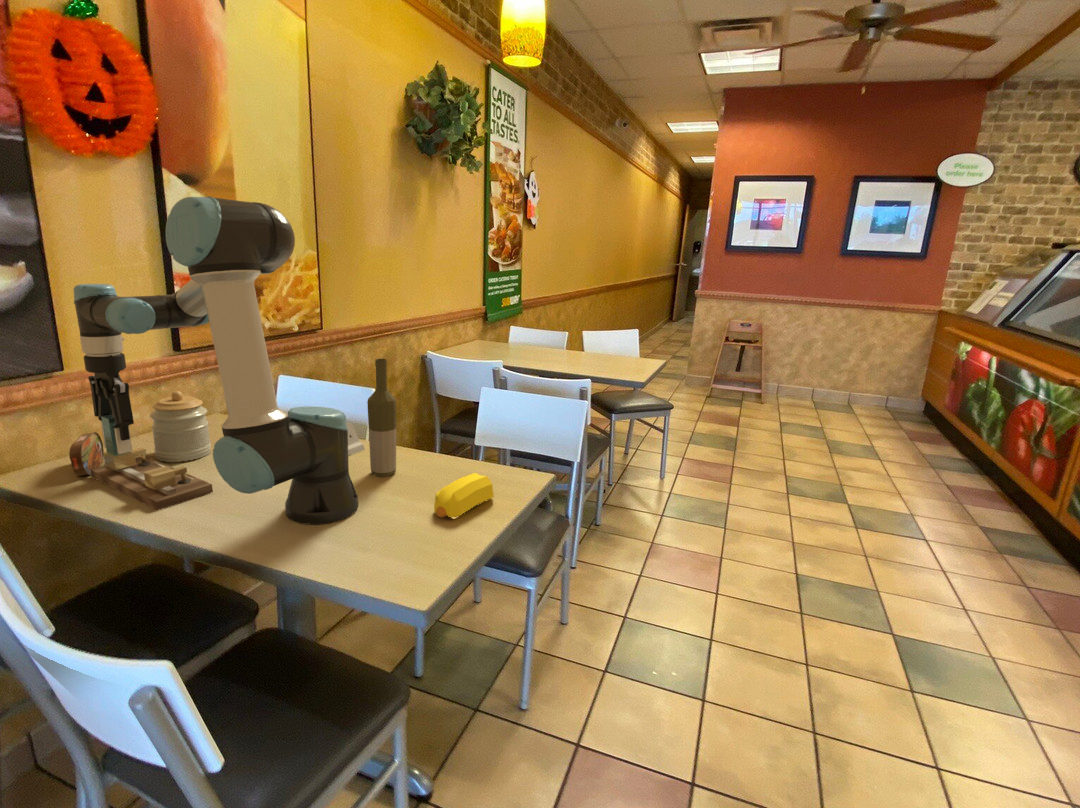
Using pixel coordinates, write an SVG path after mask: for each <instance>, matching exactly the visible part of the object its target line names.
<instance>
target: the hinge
mask: <svg viewBox="0 0 1080 808" xmlns="http://www.w3.org/2000/svg"><path fill="white" fill-rule="evenodd" d="M346 423H347V428H348V457H350V456H349V455H351V456H353V455H356V454H358V453H357V452H359V453H360V451H361V452H363V451H362V450H364V451H365V450H366V449H365V445H364V443H362V442H361V441H360V439H359V436H358V434H357V431H356V430H355V426H354V425H353V424H352V423H350V422H346ZM355 453H356V454H355ZM352 454H353V455H352Z"/></svg>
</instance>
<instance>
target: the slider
mask: <svg viewBox="0 0 1080 808" xmlns="http://www.w3.org/2000/svg"><path fill="white" fill-rule="evenodd" d="M101 418H102V424H103V431H104V437H105V443H106V448H105V449H106V451H104V452H103V454H104V458H103V462H104V466H108V467H110V468H112V469H114V470H118V469H121V468H125V467H129V466H133V465H136V459H135V458H137V457H141V460H142V463H145V462H146V457H145V456H146V454H147V449H146V448H144V447H142V448H138V449H132V451H131V452H127V453H123V454H118V450H117V443H116V437H115V430H114V428H113V427H112V426H116V424H115V420H114V417H113V413H112V414H111V415H106V416H101Z"/></svg>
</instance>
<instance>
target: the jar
mask: <svg viewBox="0 0 1080 808" xmlns="http://www.w3.org/2000/svg"><path fill="white" fill-rule="evenodd" d="M203 404H204V402H203V401H202V400H201V399H198V398H197V397H195V396H191V395H184V394H183V392H182V391H178V390H177V391H173V392H172V393H171V395H170V396H169V397H164V398H161V399H159V400H158V401H157V402H155V403H153V404H152V409H153V410H154V411H152V412H151V413H150V414H149V418H151V419H152V426H151V427H150V428H151V430H152V435H153V436H152V437H153V443H154V450H153V451H154V455H155V456H156V459H157V461H160V460H161V461H160V462H164V461H166V463H182V462H181V461H184V462H189V461H188V460H190V461H194V459H195V460H198V458H199V459H201V457H202V458H204V457H206V456H208V455H209V454H210V453H211V449H212V443H211V441H210V429H209V423H210V422H209V421H208V419H207V417H206V414H207V413H208V409H207V408H206V407H204V406H202V405H203Z"/></svg>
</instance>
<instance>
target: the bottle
mask: <svg viewBox="0 0 1080 808" xmlns="http://www.w3.org/2000/svg"><path fill="white" fill-rule="evenodd" d="M374 363H375V364H374V365H375V391H373V393H372V394H371V395H370V396H369V397H368V399H367V401H366V402H367V421H368V441H369V459H370V461H369V462H370V466H369V467H370V471H371V474H372V475H373V476H376V477H387V476H392V475H393V474H395V473H396V471H397V399H396V397H394V395H393V394H392V393H391V392H390V390H388V381H387V379H388V374H387V369H388V368H387V366H388V362H387V359H386V358H376V359H375V361H374Z"/></svg>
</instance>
